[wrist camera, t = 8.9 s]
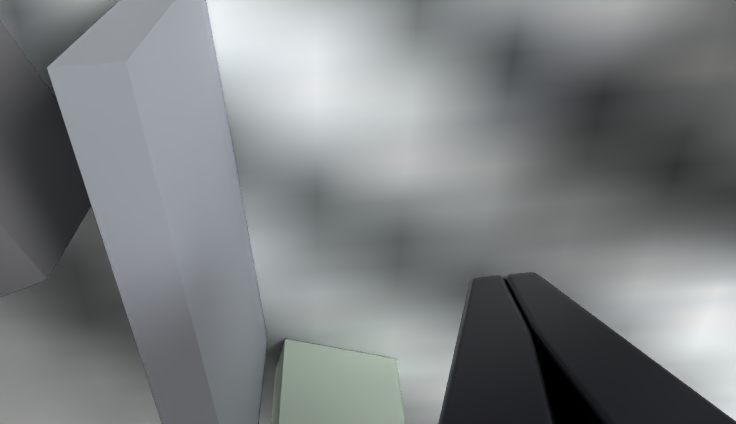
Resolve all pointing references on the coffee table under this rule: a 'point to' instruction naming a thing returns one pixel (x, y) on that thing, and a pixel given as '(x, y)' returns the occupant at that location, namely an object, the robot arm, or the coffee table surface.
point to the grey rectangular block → (33, 174)
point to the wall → (335, 387)
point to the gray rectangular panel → (169, 203)
